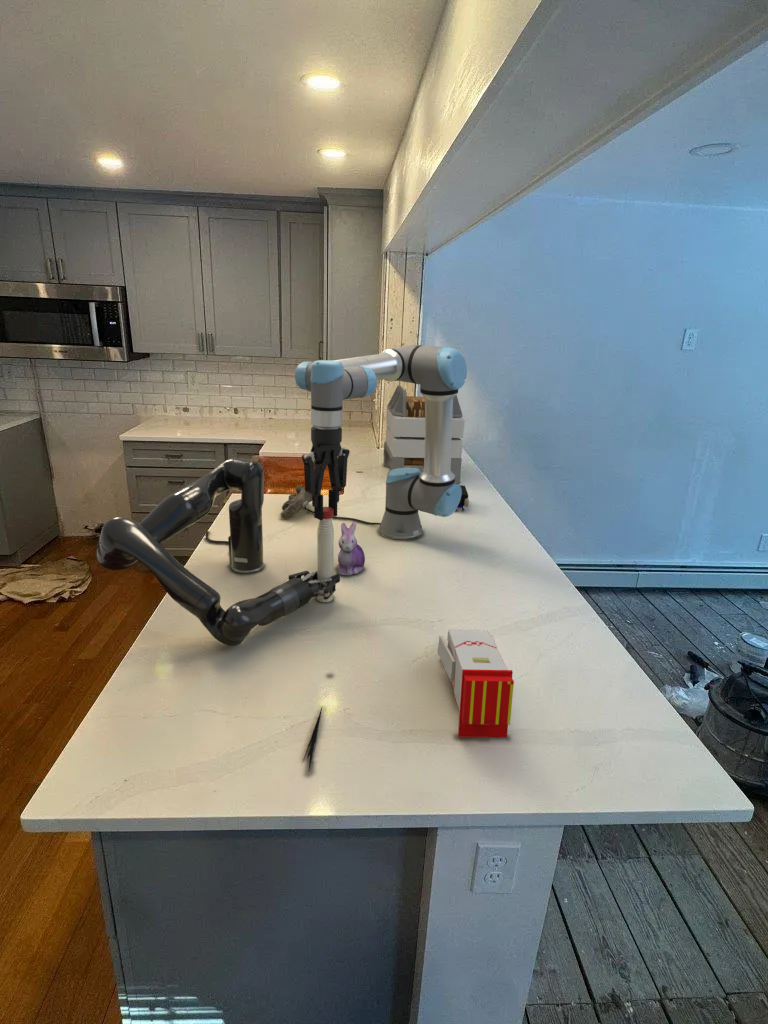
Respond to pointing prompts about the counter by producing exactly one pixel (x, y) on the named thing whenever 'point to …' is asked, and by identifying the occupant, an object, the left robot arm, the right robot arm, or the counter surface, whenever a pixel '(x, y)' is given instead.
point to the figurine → (350, 552)
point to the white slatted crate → (416, 432)
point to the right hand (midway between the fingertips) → (325, 516)
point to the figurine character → (463, 498)
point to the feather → (313, 740)
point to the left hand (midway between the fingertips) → (331, 574)
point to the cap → (328, 512)
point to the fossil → (296, 503)
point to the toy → (478, 682)
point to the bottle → (325, 552)
